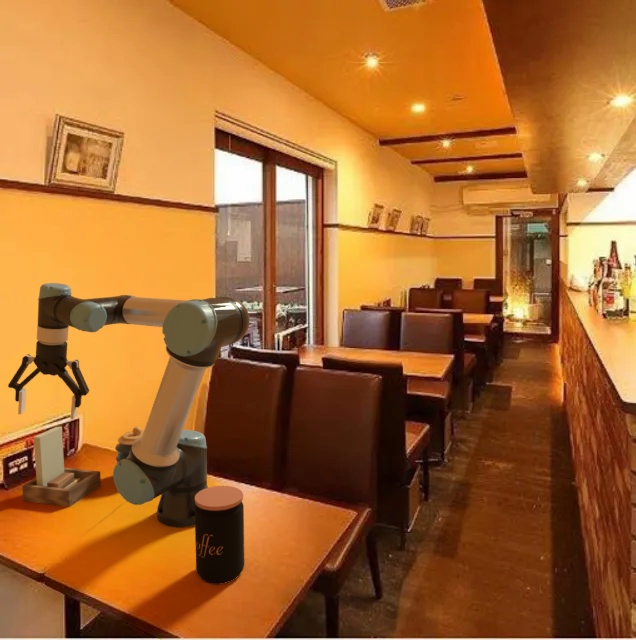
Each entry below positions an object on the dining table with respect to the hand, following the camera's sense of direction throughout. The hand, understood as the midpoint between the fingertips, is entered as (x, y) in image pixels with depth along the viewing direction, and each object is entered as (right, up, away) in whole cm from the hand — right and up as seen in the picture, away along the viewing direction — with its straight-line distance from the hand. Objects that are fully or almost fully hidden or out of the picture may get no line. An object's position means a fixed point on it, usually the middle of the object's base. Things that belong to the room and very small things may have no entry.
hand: (47, 415), depth 152 cm
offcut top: (+1, -22, +7) cm, 23 cm away
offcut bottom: (+1, -24, +8) cm, 25 cm away
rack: (+1, -26, +8) cm, 27 cm away
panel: (-3, -24, +9) cm, 26 cm away
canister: (+19, -24, +20) cm, 37 cm away
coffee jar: (+53, -31, -28) cm, 67 cm away
